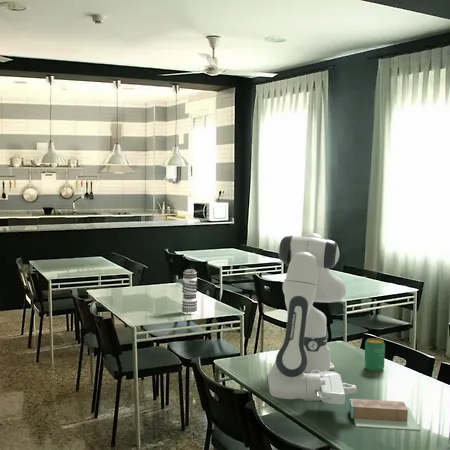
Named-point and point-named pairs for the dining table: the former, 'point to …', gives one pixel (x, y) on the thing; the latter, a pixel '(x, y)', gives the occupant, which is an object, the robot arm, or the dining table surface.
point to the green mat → (389, 423)
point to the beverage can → (374, 354)
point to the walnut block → (378, 410)
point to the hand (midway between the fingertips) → (356, 389)
